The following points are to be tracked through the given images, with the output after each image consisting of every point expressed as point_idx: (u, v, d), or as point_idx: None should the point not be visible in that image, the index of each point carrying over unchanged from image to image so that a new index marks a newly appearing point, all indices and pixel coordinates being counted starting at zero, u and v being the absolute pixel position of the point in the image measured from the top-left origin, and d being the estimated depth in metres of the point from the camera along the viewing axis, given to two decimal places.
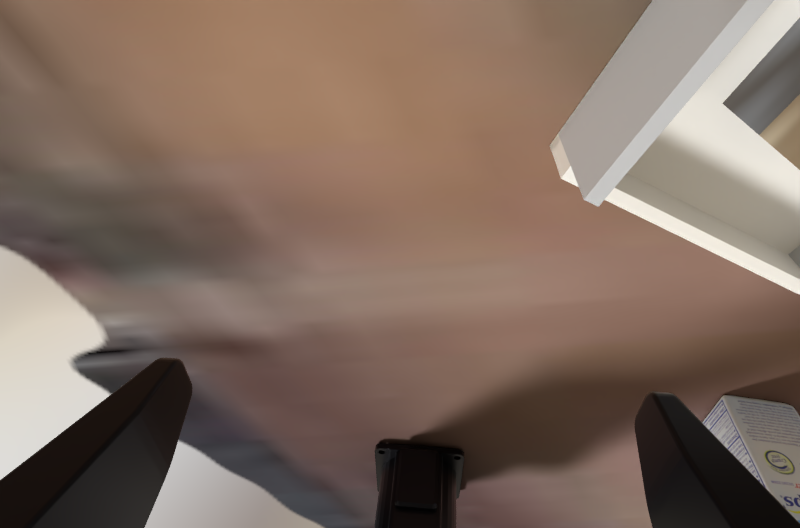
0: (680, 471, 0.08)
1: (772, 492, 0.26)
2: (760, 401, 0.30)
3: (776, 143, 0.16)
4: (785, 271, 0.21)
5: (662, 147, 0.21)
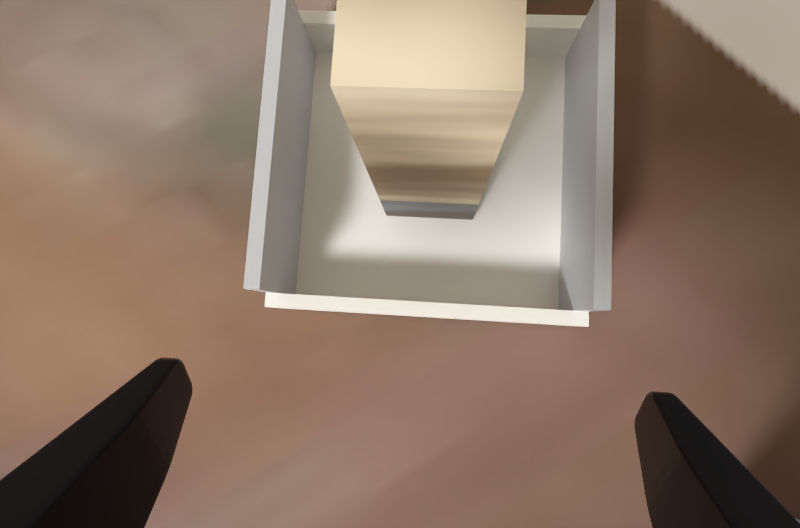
0: (680, 471, 0.08)
1: None
2: None
3: None
4: (529, 308, 0.20)
5: (367, 265, 0.23)
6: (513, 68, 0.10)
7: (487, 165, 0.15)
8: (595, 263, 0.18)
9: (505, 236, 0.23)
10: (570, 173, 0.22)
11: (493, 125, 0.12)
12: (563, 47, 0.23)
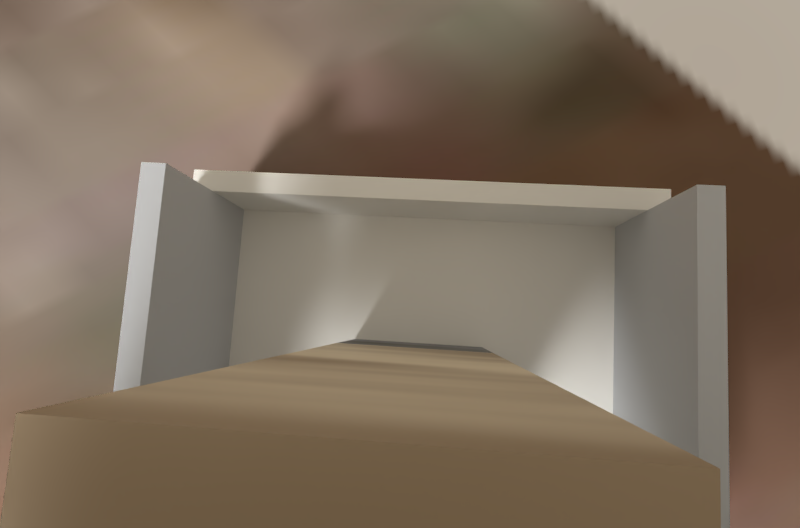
0: None
1: None
2: None
3: None
4: None
5: None
6: None
7: None
8: None
9: None
10: None
11: None
12: (615, 220, 0.15)
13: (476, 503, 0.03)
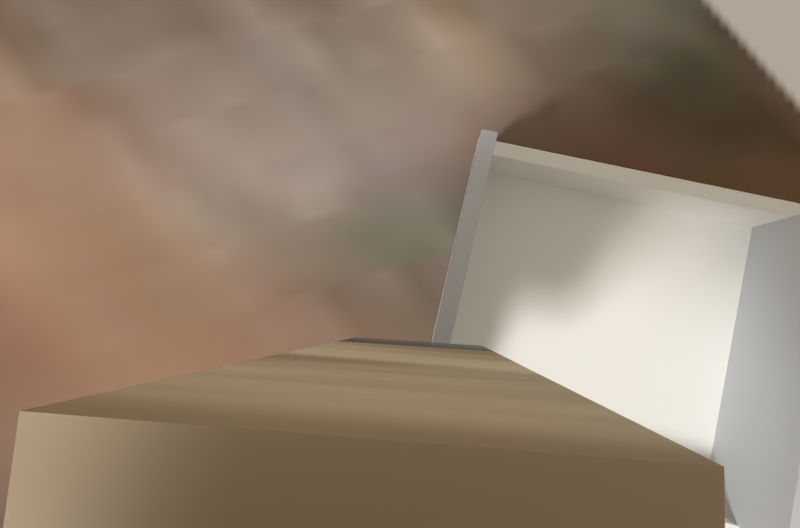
0: None
1: None
2: None
3: None
4: None
5: None
6: None
7: None
8: (794, 508, 0.16)
9: (658, 409, 0.22)
10: (748, 366, 0.20)
11: None
12: (758, 222, 0.21)
13: (480, 501, 0.03)
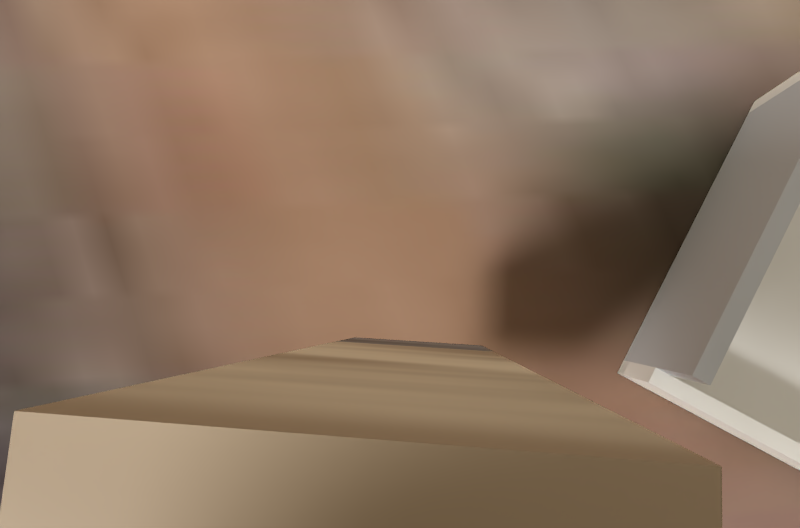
0: None
1: None
2: None
3: None
4: None
5: (737, 373, 0.20)
6: None
7: None
8: None
9: None
10: None
11: None
12: None
13: (477, 500, 0.03)
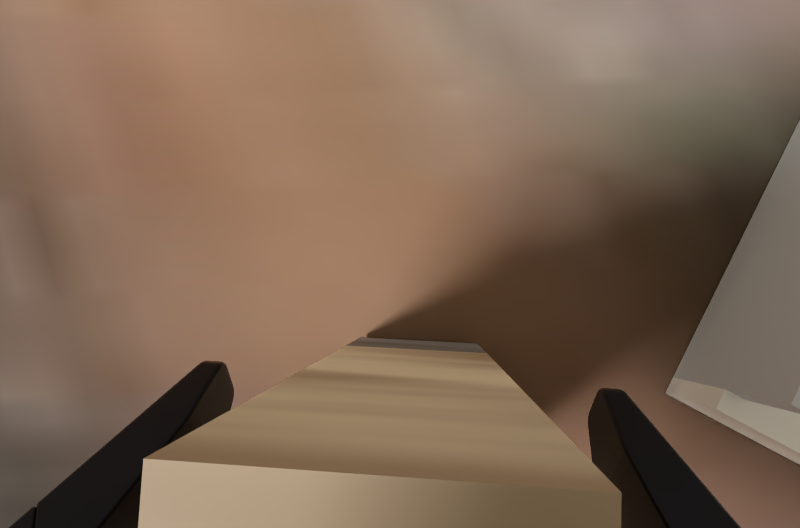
0: (622, 466, 0.08)
1: None
2: None
3: None
4: None
5: None
6: None
7: None
8: None
9: None
10: None
11: None
12: None
13: (461, 517, 0.04)
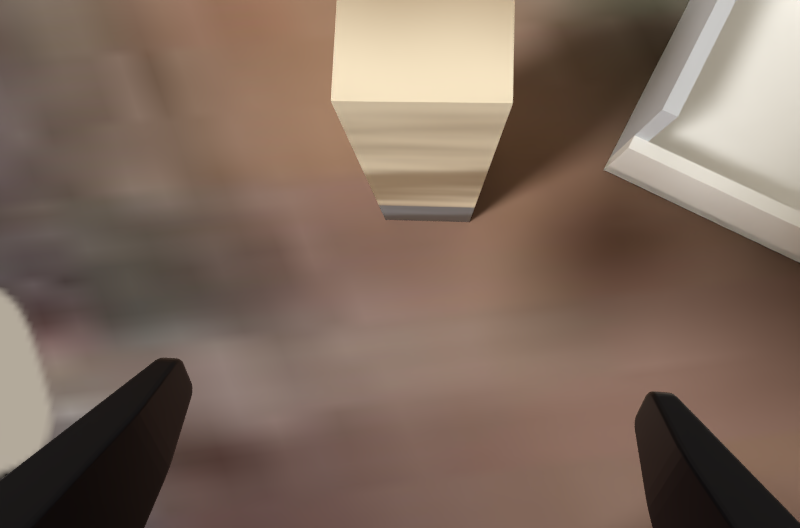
0: (680, 471, 0.08)
1: None
2: None
3: None
4: None
5: (708, 161, 0.23)
6: (503, 81, 0.11)
7: (481, 170, 0.16)
8: None
9: None
10: None
11: (485, 134, 0.13)
12: None
13: None
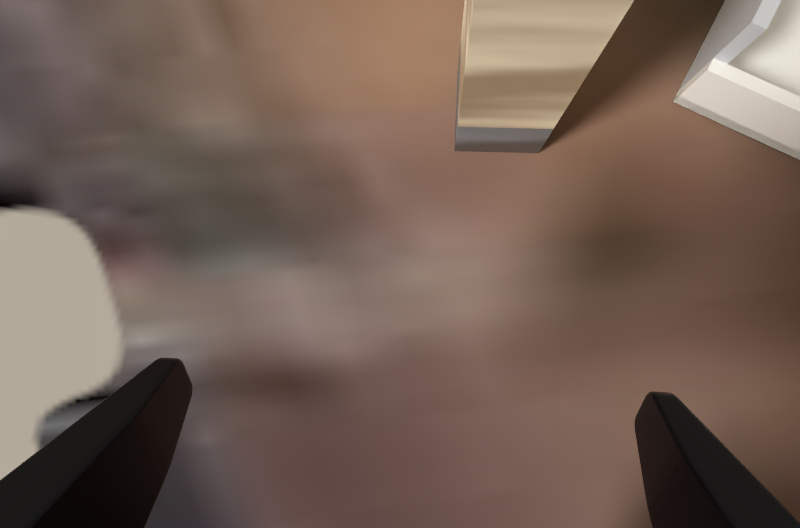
0: (680, 471, 0.08)
1: None
2: None
3: (459, 114, 0.20)
4: None
5: None
6: None
7: (585, 67, 0.16)
8: None
9: None
10: None
11: (615, 6, 0.13)
12: None
13: None
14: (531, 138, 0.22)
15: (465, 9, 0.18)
